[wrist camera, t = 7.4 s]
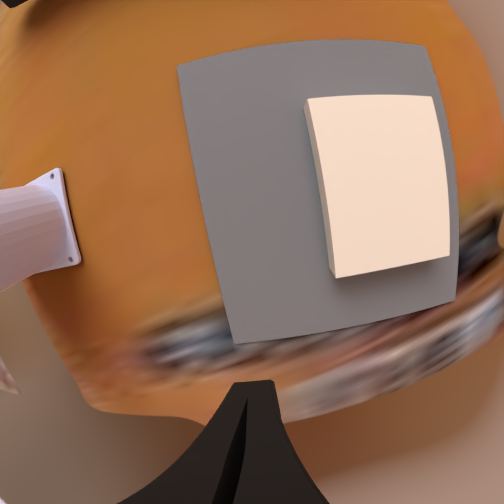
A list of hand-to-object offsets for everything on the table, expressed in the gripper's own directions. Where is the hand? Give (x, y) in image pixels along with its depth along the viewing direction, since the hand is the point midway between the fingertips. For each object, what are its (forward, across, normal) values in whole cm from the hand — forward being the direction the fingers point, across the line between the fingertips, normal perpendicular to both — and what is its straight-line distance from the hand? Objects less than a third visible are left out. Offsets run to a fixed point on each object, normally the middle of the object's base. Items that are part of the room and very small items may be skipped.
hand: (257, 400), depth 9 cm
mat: (+10, -6, -6) cm, 13 cm away
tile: (+9, -4, -6) cm, 11 cm away
